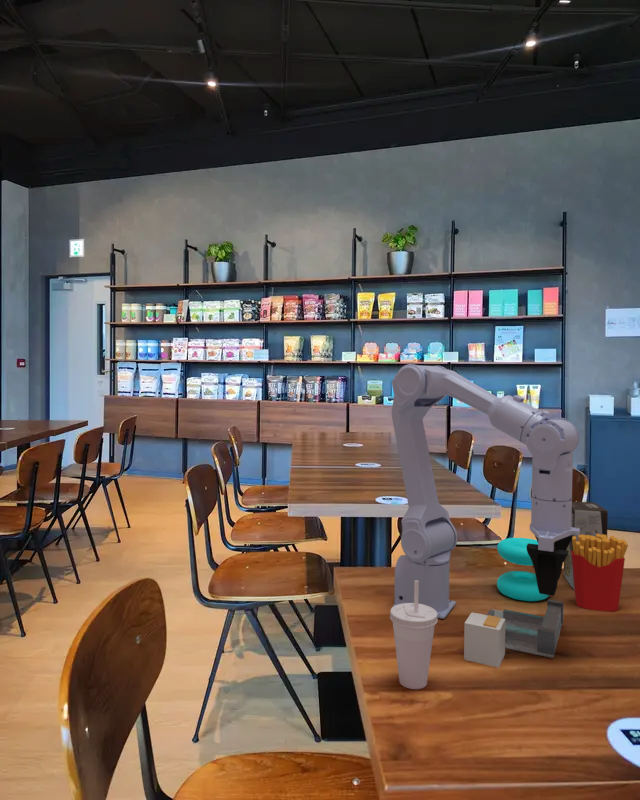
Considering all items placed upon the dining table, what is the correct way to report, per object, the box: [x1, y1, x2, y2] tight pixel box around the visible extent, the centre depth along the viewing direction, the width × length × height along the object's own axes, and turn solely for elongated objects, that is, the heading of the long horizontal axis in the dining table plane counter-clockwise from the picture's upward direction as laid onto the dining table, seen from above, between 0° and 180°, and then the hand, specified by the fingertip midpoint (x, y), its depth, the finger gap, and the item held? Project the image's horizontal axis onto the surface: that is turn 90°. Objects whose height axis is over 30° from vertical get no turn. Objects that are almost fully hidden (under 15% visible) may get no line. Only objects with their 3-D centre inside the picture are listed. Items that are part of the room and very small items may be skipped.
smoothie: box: [389, 580, 439, 690], centre depth 77 cm, size 6×6×14 cm
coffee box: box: [563, 501, 609, 590], centre depth 115 cm, size 9×6×16 cm
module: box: [463, 612, 506, 669], centre depth 84 cm, size 5×4×6 cm
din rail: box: [486, 598, 565, 659], centre depth 92 cm, size 12×14×4 cm
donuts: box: [496, 537, 550, 602], centre depth 110 cm, size 10×10×10 cm
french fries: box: [571, 534, 629, 613], centre depth 103 cm, size 9×4×13 cm, turn 73°
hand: (549, 585), depth 87 cm, fingers open, 7 cm apart
